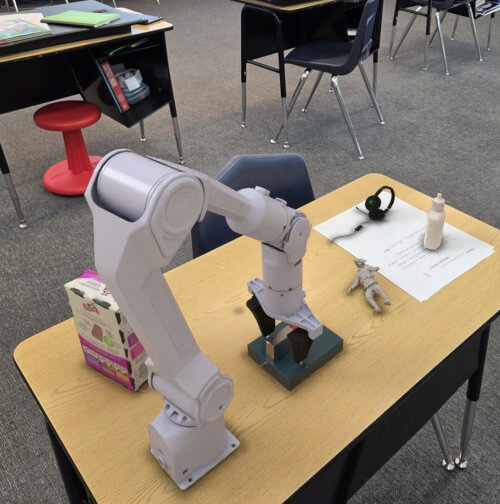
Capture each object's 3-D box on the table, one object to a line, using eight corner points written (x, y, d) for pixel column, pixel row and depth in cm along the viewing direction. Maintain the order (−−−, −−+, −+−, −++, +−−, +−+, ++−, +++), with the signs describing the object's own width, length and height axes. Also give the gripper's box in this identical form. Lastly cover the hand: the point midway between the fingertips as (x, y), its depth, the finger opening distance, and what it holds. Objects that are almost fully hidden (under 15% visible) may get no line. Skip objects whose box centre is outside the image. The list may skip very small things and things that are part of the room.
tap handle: (273, 363, 83) (273, 345, 82) (266, 356, 85) (265, 339, 83) (301, 342, 87) (301, 325, 85) (294, 337, 88) (293, 320, 86)
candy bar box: (158, 371, 85) (143, 291, 77) (135, 393, 82) (116, 312, 73) (109, 344, 90) (88, 266, 82) (84, 364, 87) (61, 284, 78)
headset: (321, 249, 123) (379, 193, 129) (343, 263, 118) (402, 204, 124) (312, 229, 118) (372, 173, 125) (334, 243, 113) (396, 183, 120)
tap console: (282, 398, 81) (282, 386, 80) (239, 360, 87) (238, 348, 86) (343, 350, 89) (344, 338, 88) (300, 319, 95) (300, 307, 94)
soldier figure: (360, 321, 96) (332, 268, 103) (373, 325, 100) (345, 273, 107) (394, 296, 94) (363, 243, 101) (406, 301, 98) (375, 249, 104)
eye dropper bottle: (415, 243, 115) (422, 194, 108) (432, 233, 118) (440, 185, 111) (431, 252, 112) (439, 203, 106) (448, 242, 115) (457, 194, 109)
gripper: (338, 289, 76) (335, 357, 83) (270, 246, 85) (272, 310, 92) (302, 314, 72) (302, 383, 79) (234, 265, 81) (240, 331, 88)
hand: (284, 346), depth 85 cm, fingers open, 7 cm apart
